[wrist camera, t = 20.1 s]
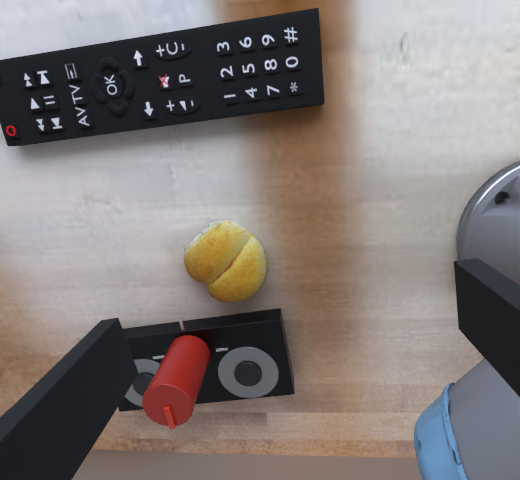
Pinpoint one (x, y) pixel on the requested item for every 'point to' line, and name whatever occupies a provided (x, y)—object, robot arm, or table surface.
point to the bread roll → (227, 261)
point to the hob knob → (177, 382)
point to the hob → (218, 348)
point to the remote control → (164, 79)
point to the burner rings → (222, 373)
